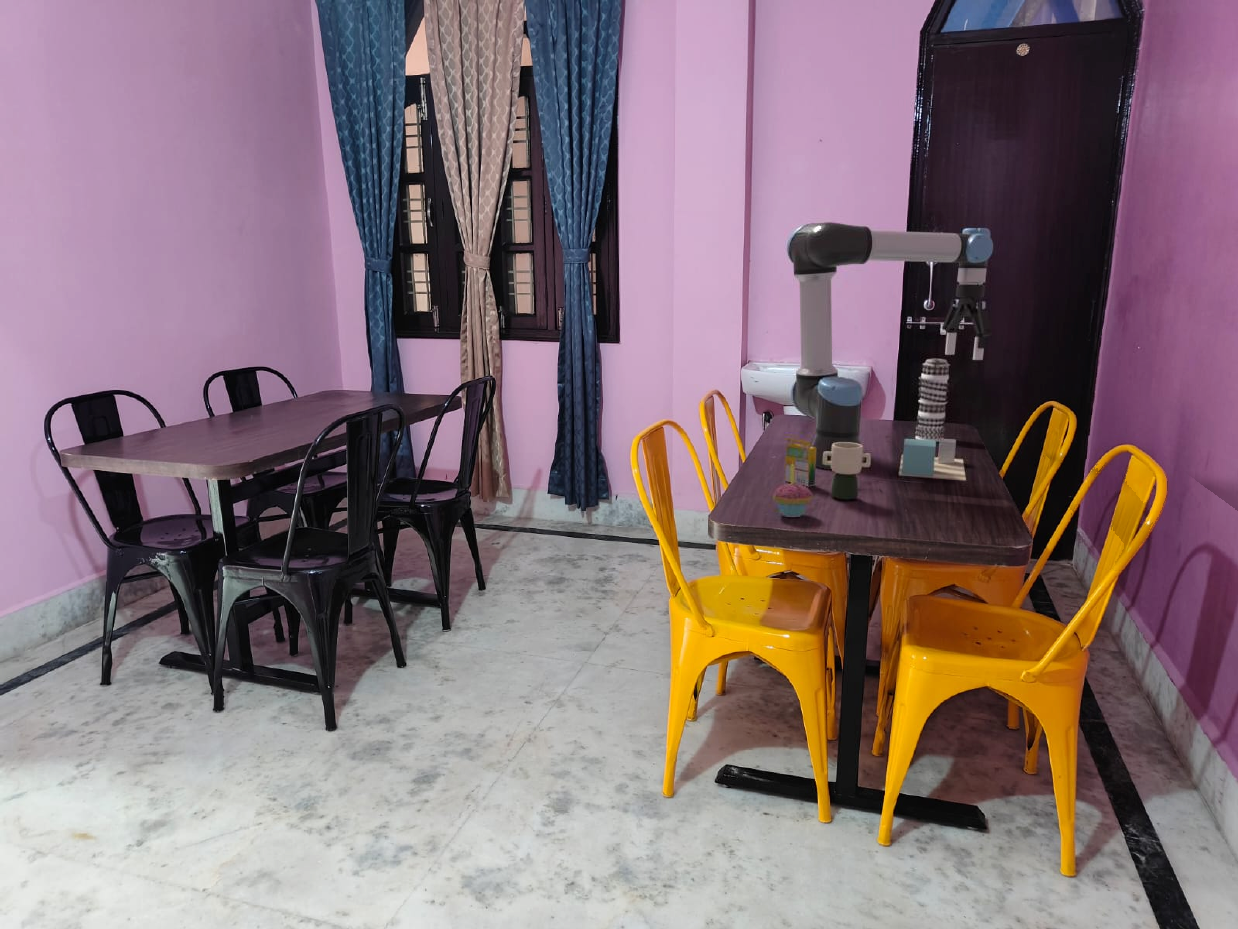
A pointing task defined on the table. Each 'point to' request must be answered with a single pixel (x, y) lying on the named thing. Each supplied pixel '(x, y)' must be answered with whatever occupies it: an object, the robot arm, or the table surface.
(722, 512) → the table surface
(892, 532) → the table surface
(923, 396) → the decorative candle
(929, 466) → the teal cube
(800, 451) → the crayon box
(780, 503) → the cupcake
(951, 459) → the grey rectangular block
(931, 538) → the table surface
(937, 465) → the base board
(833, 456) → the character mug
